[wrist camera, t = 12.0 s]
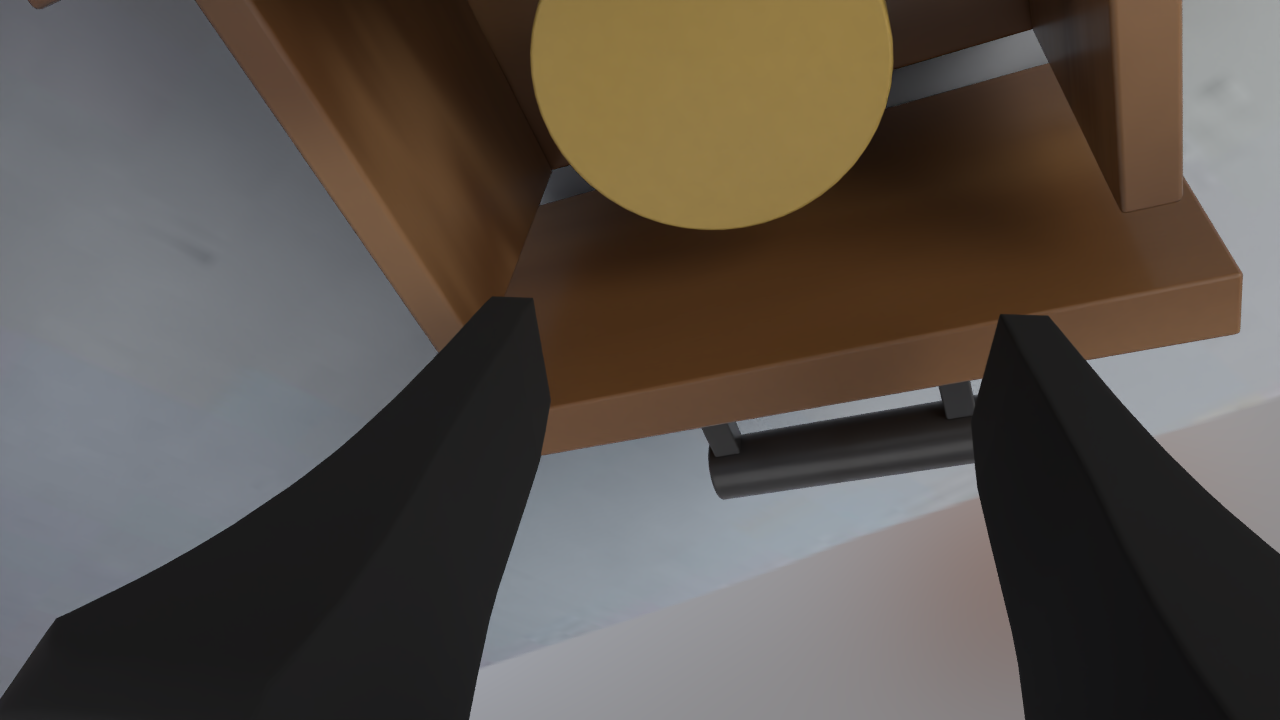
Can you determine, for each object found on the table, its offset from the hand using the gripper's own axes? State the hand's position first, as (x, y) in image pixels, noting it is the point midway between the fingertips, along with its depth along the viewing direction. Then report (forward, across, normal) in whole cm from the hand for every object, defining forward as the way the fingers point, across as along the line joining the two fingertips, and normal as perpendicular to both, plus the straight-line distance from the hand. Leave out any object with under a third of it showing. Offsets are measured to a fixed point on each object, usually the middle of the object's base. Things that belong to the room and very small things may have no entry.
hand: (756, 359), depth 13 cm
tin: (+8, +1, -2) cm, 9 cm away
